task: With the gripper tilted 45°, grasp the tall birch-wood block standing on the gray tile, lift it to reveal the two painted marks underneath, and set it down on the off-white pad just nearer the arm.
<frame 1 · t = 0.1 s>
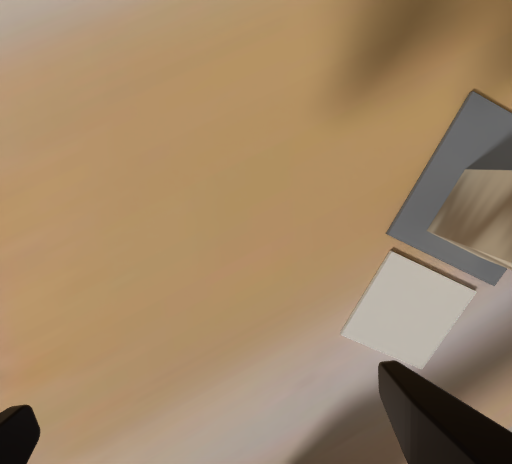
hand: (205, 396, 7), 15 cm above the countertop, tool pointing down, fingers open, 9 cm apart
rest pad: (405, 312, 23), on the countertop
gray tile: (469, 214, 21), on the countertop
birch block: (472, 215, 21), resting on gray tile
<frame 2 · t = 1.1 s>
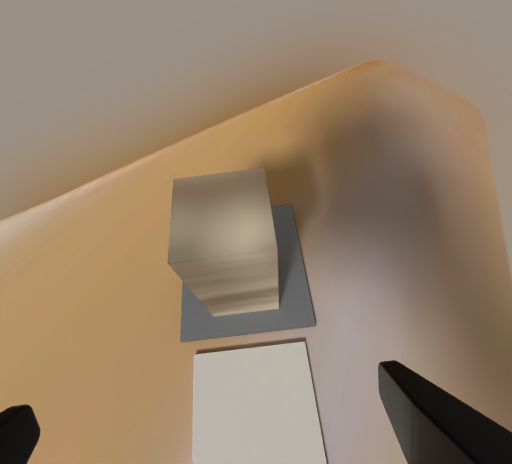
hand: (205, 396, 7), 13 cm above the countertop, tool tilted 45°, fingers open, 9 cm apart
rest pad: (254, 414, 18), on the countertop
gray tile: (244, 283, 23), on the countertop
birch block: (243, 281, 22), resting on gray tile
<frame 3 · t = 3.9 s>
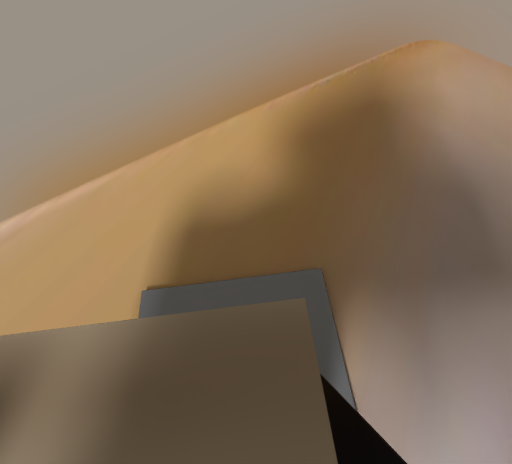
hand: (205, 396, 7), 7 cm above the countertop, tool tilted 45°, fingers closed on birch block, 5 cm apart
gray tile: (241, 434, 12), on the countertop
birch block: (240, 435, 12), resting on gray tile, touching gripper
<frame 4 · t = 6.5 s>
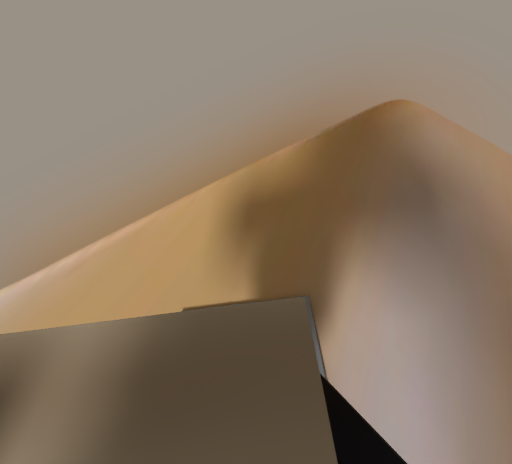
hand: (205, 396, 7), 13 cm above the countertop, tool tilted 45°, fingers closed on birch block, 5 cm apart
gray tile: (253, 410, 18), on the countertop
birch block: (240, 434, 12), point 7 cm above the countertop, touching gripper
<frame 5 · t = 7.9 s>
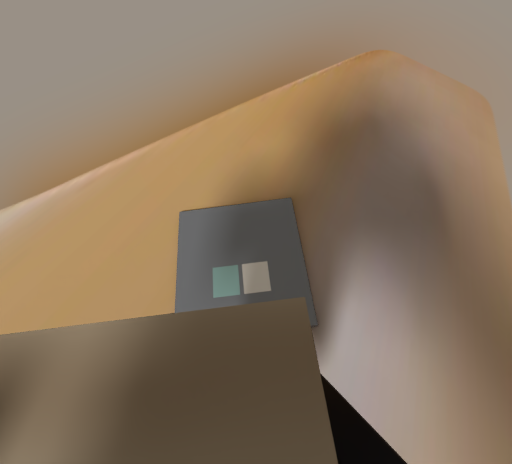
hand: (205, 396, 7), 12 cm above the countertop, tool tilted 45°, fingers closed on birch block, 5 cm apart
gray tile: (241, 280, 21), on the countertop
birch block: (240, 434, 12), point 6 cm above the countertop, touching gripper
when the fingers open (8 cm above the countertop, at t = 9.1 s): birch block drops 2 cm, resting on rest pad.
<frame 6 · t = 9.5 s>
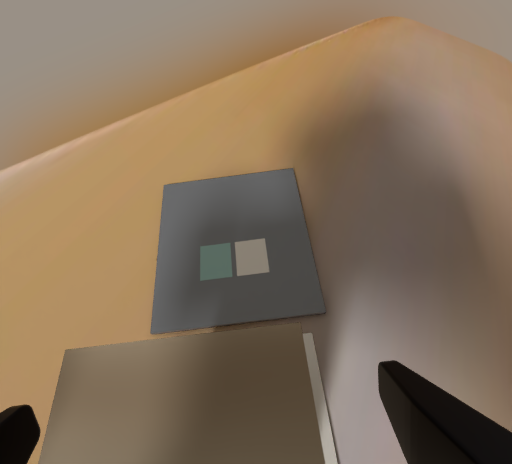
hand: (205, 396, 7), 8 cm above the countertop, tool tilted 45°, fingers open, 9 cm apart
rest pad: (245, 430, 13), on the countertop
gray tile: (234, 260, 18), on the countertop
birch block: (244, 430, 13), resting on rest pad
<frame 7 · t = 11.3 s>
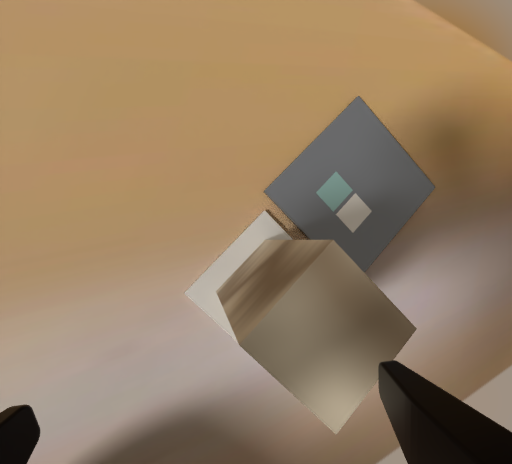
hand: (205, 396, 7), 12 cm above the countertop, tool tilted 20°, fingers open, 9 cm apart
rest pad: (264, 288, 20), on the countertop
gray tile: (342, 202, 22), on the countertop
birch block: (265, 289, 20), resting on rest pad
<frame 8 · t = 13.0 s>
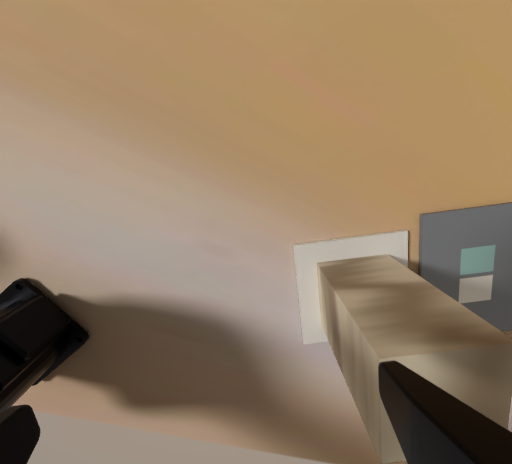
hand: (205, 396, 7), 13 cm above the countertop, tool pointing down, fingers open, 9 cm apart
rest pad: (351, 288, 21), on the countertop
gray tile: (473, 273, 21), on the countertop
birch block: (352, 290, 20), resting on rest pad
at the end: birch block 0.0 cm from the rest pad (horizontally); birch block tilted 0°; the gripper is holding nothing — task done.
